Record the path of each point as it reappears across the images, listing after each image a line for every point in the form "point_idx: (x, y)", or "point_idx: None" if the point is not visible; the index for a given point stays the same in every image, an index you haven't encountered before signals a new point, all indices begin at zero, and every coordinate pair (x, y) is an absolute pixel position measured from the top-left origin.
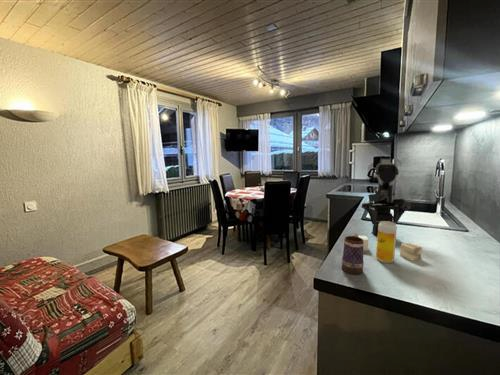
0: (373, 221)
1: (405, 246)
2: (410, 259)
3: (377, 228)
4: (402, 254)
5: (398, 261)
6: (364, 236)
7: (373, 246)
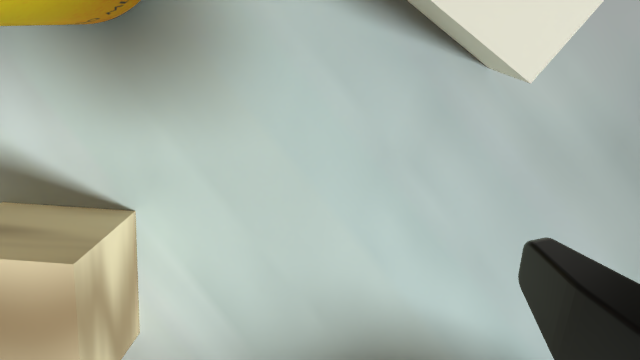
0: (567, 298)
1: (11, 256)
2: (11, 205)
3: None
4: (94, 216)
5: (18, 50)
6: (526, 35)
7: (443, 169)
